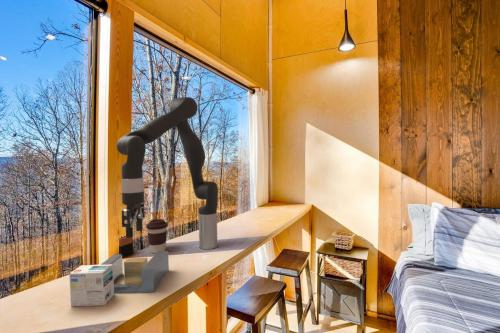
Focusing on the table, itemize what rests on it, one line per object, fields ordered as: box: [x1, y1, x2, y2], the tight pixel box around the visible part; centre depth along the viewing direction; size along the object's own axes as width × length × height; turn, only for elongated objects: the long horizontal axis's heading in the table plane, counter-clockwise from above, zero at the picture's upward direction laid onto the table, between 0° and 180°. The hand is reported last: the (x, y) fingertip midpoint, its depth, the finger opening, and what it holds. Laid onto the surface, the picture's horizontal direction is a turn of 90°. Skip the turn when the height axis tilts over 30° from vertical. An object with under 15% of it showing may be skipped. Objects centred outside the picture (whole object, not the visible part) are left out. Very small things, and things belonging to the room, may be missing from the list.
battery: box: [119, 236, 134, 258], centre depth 125 cm, size 4×7×10 cm, turn 152°
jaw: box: [100, 253, 124, 282], centre depth 99 cm, size 12×7×8 cm, turn 0°
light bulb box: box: [69, 264, 115, 307], centre depth 86 cm, size 11×7×11 cm, turn 92°
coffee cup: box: [145, 218, 169, 254], centre depth 130 cm, size 10×10×15 cm
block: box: [123, 257, 148, 284], centre depth 99 cm, size 4×7×8 cm, turn 91°
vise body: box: [114, 250, 170, 294], centre depth 99 cm, size 17×26×8 cm, turn 90°
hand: (134, 234), depth 98 cm, fingers open, 8 cm apart
